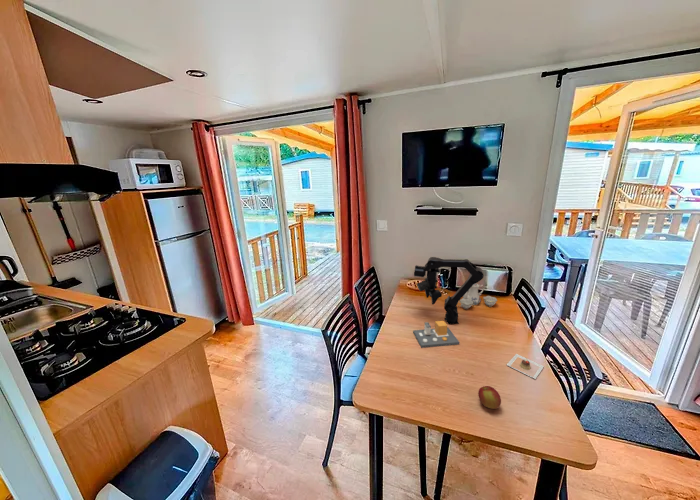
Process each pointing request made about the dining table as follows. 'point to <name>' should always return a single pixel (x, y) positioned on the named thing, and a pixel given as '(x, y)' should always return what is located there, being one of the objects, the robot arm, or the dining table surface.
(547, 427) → the dining table surface
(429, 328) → the lever
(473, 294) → the chinaware
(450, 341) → the breaker panel
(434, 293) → the robot arm
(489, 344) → the dining table surface
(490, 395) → the apple
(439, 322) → the mustard yellow cube
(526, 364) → the dessert
